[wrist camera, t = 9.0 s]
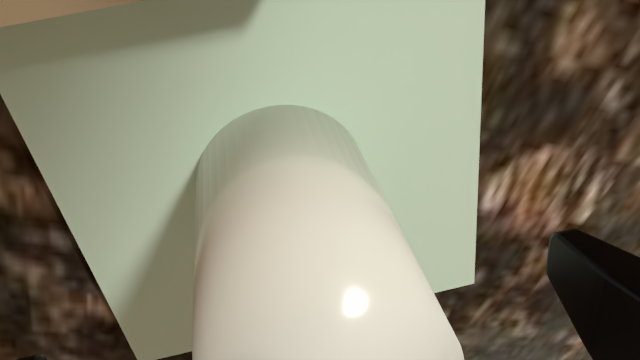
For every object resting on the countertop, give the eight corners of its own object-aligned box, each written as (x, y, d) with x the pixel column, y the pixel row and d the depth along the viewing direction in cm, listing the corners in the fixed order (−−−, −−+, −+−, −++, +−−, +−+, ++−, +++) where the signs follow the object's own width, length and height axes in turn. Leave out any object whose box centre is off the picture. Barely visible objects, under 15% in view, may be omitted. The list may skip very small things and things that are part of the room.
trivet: (479, -86, 11) (488, -84, 10) (468, 274, 16) (474, 283, 16) (-33, 7, 10) (-41, 13, 10) (140, 352, 15) (139, 363, 15)
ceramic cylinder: (355, 88, 12) (467, 268, 7) (369, 228, 14) (463, 442, 9) (174, 125, 11) (152, 341, 6) (218, 262, 14) (228, 504, 9)
